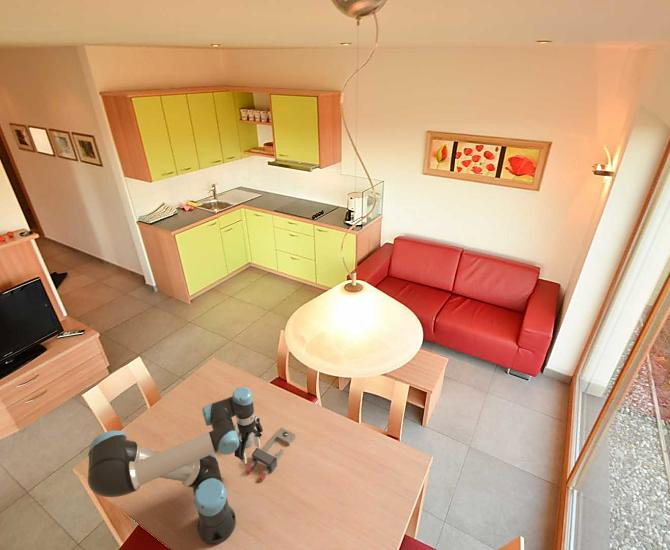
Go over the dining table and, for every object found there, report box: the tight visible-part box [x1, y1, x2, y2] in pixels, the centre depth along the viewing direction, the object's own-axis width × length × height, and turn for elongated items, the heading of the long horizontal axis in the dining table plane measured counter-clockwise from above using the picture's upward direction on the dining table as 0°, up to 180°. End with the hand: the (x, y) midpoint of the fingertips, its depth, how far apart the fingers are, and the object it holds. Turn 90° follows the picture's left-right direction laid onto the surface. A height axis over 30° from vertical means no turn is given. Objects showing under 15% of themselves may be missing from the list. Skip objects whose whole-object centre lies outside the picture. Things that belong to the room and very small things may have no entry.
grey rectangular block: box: [251, 447, 278, 473], centre depth 185 cm, size 4×12×6 cm, turn 61°
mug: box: [234, 424, 254, 449], centre depth 195 cm, size 12×8×11 cm
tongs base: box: [246, 427, 296, 475], centre depth 191 cm, size 28×9×3 cm, turn 151°
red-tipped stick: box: [258, 448, 284, 482], centre depth 185 cm, size 17×2×2 cm, turn 151°
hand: (250, 453), depth 172 cm, fingers open, 9 cm apart
